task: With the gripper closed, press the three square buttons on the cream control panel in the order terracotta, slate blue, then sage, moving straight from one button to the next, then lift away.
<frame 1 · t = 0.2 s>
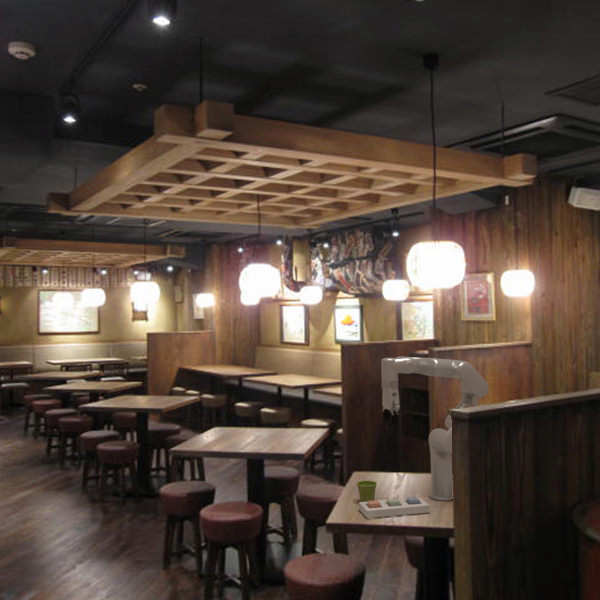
hand: (390, 422, 275), 36 cm above the table, tool pointing down, fingers open, 9 cm apart
button panel: (393, 511, 260), on the table
sage button: (393, 503, 260), point 4 cm above the table, slide at 0.0 cm
slate button: (413, 502, 262), point 3 cm above the table, slide at 0.0 cm
plant pot: (367, 502, 274), on the table
terracotta button: (373, 505, 258), point 4 cm above the table, slide at 0.0 cm
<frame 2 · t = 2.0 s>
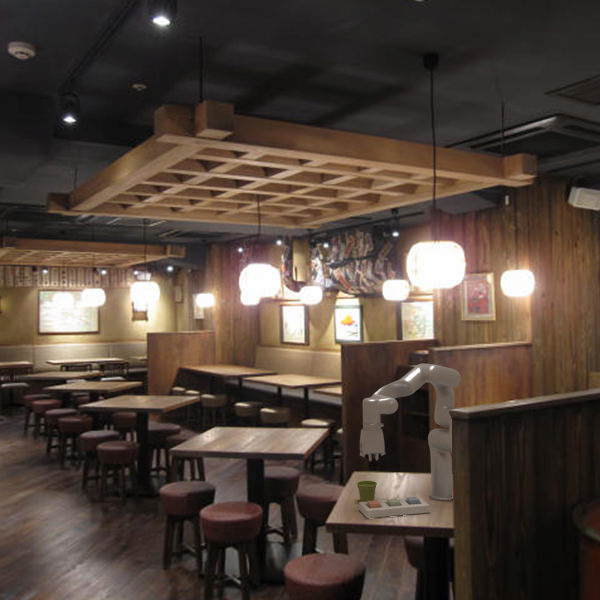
hand: (372, 469, 259), 19 cm above the table, tool pointing down, fingers closed
nothing on the table moved.
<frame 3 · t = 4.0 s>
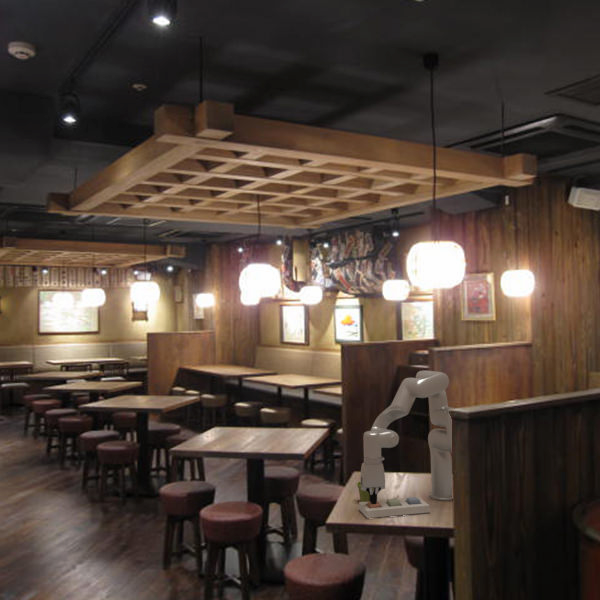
hand: (373, 503, 258), 5 cm above the table, tool pointing down, fingers closed
terracotta button: (373, 506, 258), point 3 cm above the table, slide at 0.4 cm, touching gripper
everything else where it was.
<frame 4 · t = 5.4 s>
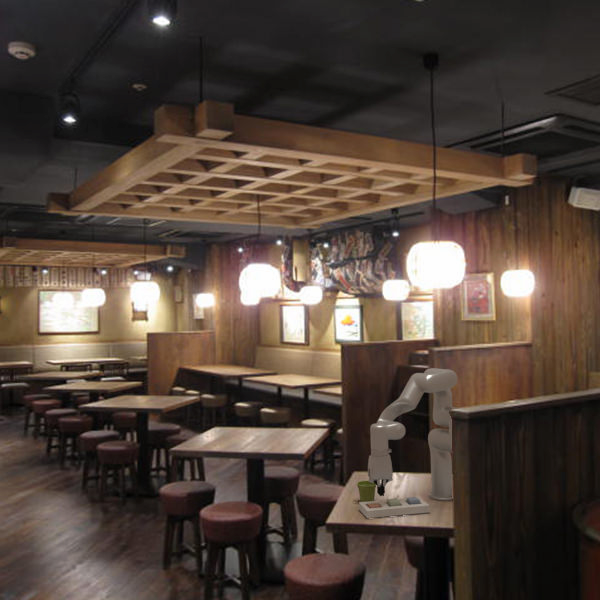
hand: (381, 495, 259), 8 cm above the table, tool pointing down, fingers closed
terracotta button: (374, 508, 258), point 2 cm above the table, slide at 1.2 cm
everything else where it was.
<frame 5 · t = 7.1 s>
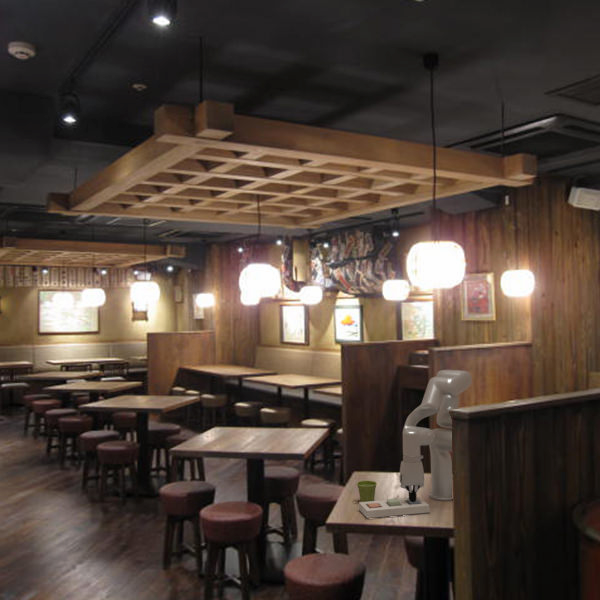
hand: (412, 500, 262), 4 cm above the table, tool pointing down, fingers closed
slate button: (413, 504, 262), point 3 cm above the table, slide at 0.9 cm, touching gripper
everything else where it was.
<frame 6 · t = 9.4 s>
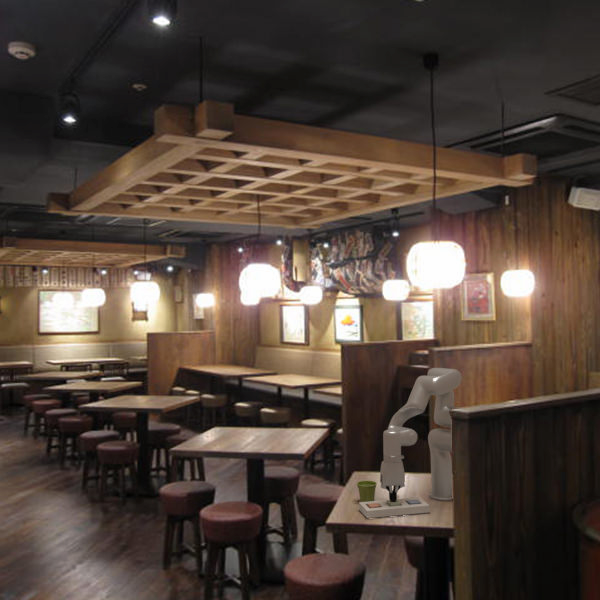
hand: (393, 501, 260), 5 cm above the table, tool pointing down, fingers closed
sage button: (393, 504, 260), point 3 cm above the table, slide at 0.3 cm, touching gripper
slate button: (413, 504, 262), point 2 cm above the table, slide at 1.2 cm
everything else where it was.
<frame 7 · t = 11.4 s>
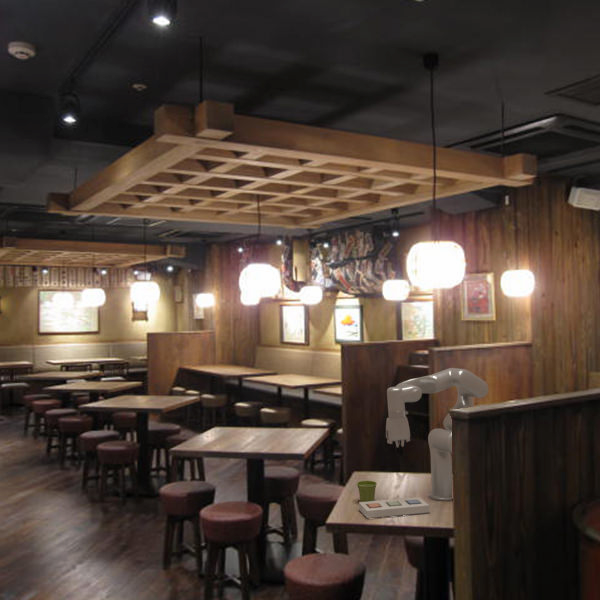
hand: (399, 455, 269), 22 cm above the table, tool pointing down, fingers closed
sage button: (393, 506, 260), point 2 cm above the table, slide at 1.2 cm
everything else where it was.
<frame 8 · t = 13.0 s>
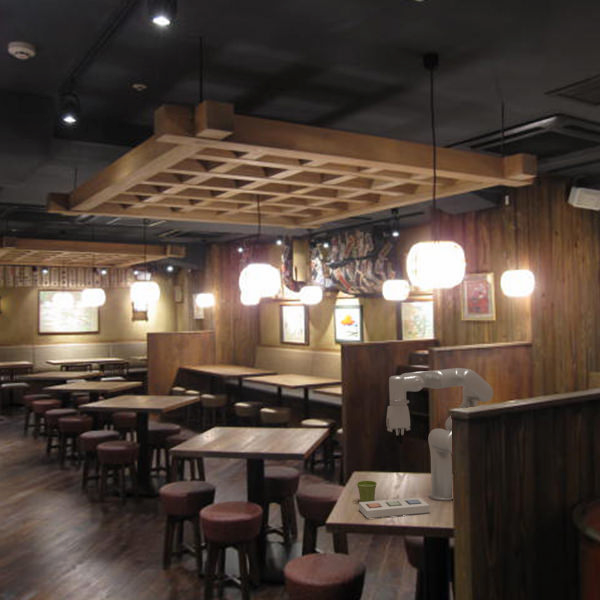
hand: (399, 443, 272), 27 cm above the table, tool pointing down, fingers closed
nothing on the table moved.
at the end: terracotta button slide at 1.2 cm; slate button slide at 1.2 cm; sage button slide at 1.2 cm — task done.
